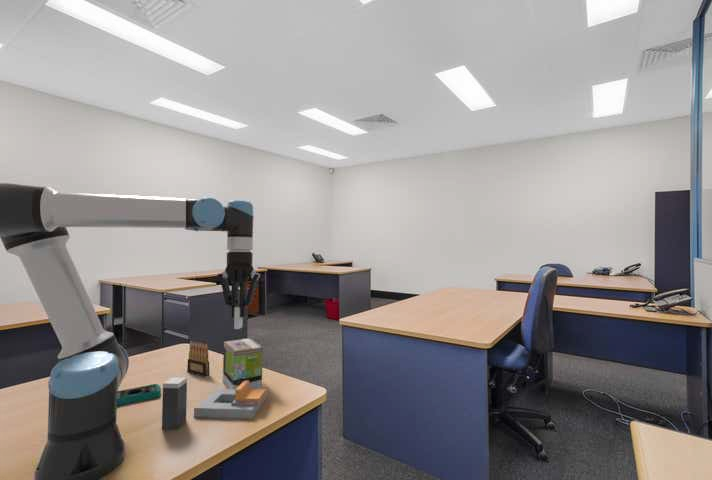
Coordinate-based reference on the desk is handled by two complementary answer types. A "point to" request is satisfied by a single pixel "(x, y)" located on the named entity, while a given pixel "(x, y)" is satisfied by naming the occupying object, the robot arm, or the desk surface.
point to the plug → (174, 403)
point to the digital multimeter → (138, 394)
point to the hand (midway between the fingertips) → (238, 327)
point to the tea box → (242, 363)
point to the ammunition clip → (198, 359)
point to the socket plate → (226, 406)
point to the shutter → (248, 393)
